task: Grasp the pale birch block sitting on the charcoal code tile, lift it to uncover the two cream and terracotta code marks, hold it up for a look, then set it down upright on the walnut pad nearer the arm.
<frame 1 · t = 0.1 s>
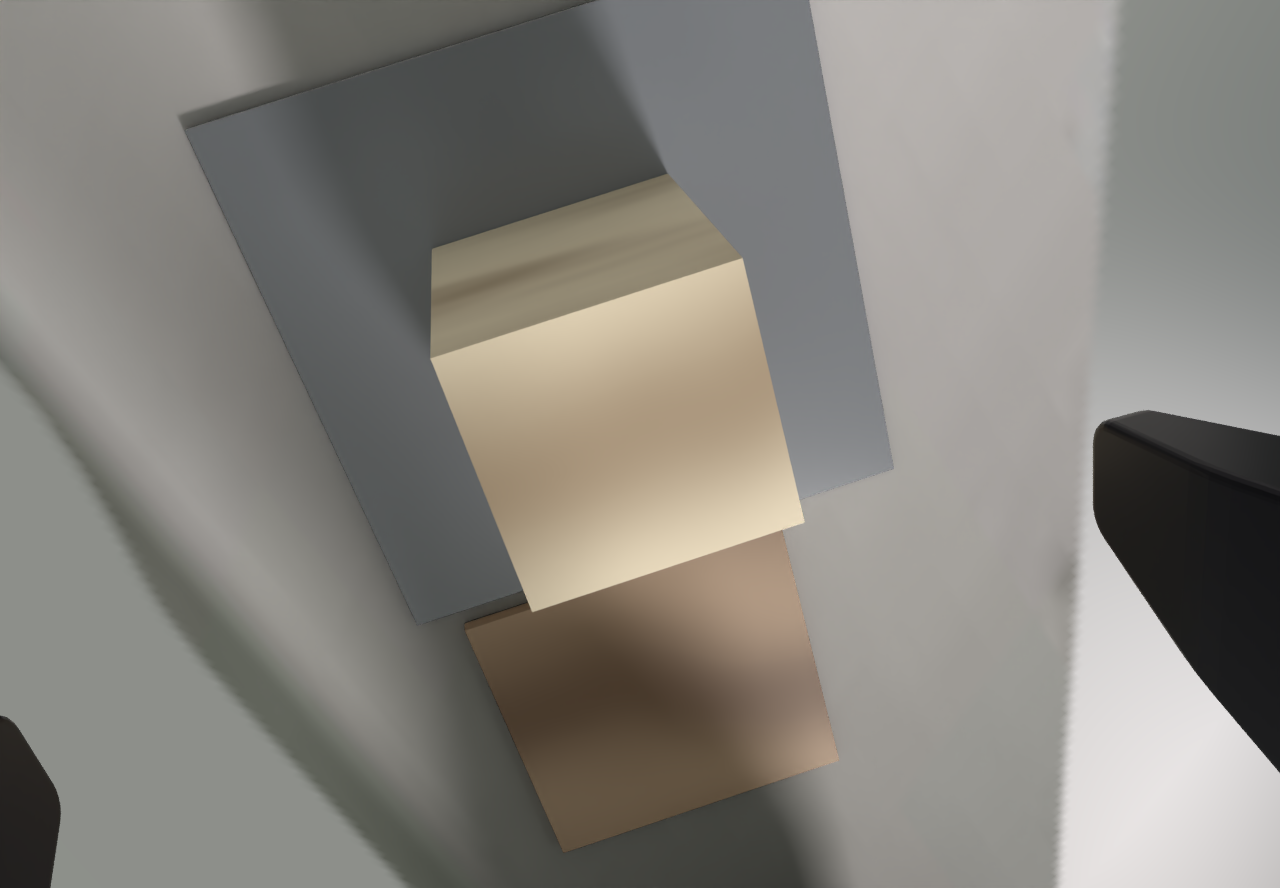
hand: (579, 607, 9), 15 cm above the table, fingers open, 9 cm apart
birch block: (585, 322, 23), resting on code tile
code tile: (584, 318, 23), on the table
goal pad: (663, 692, 28), on the table
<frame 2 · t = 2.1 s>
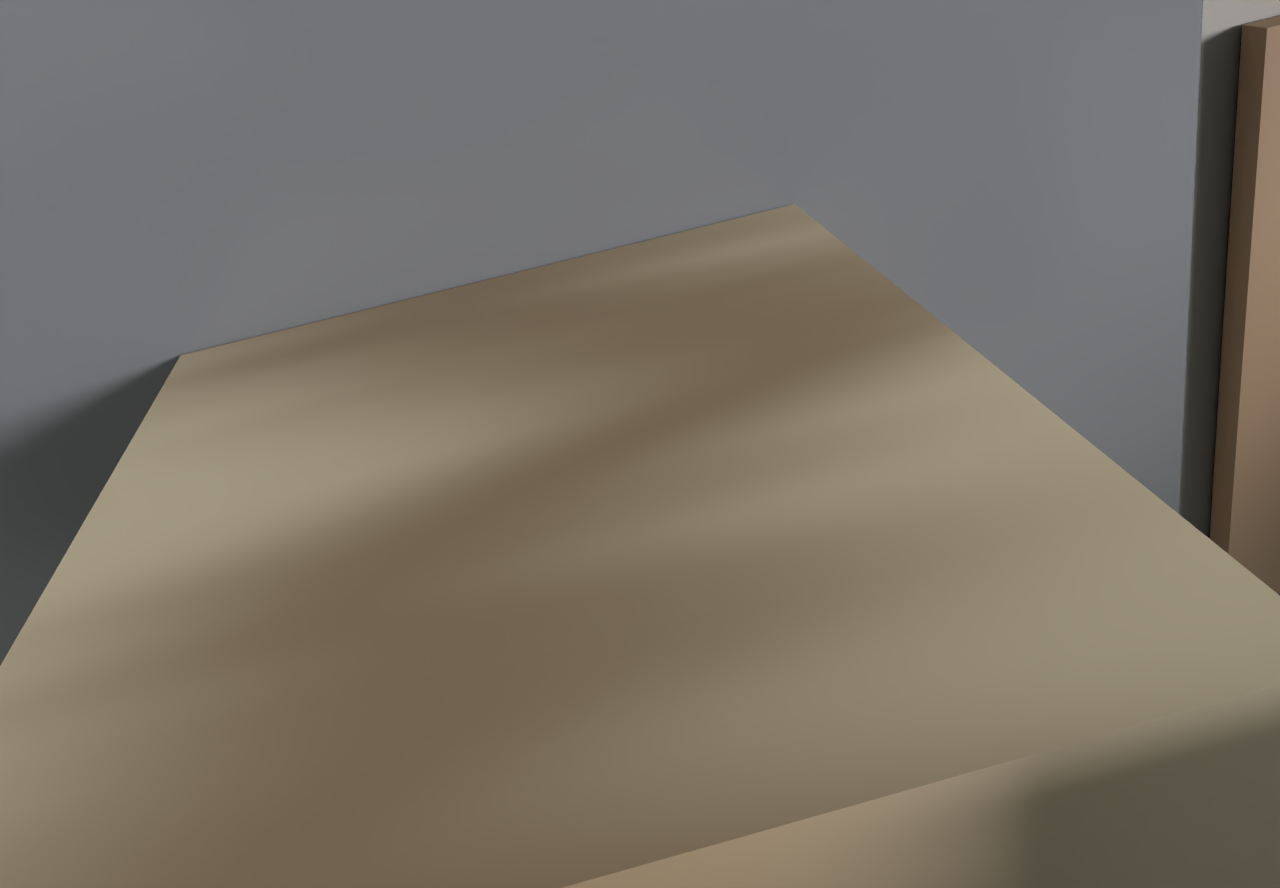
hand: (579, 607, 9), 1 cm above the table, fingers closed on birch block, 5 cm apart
birch block: (564, 537, 10), resting on code tile, touching gripper
code tile: (562, 525, 10), on the table
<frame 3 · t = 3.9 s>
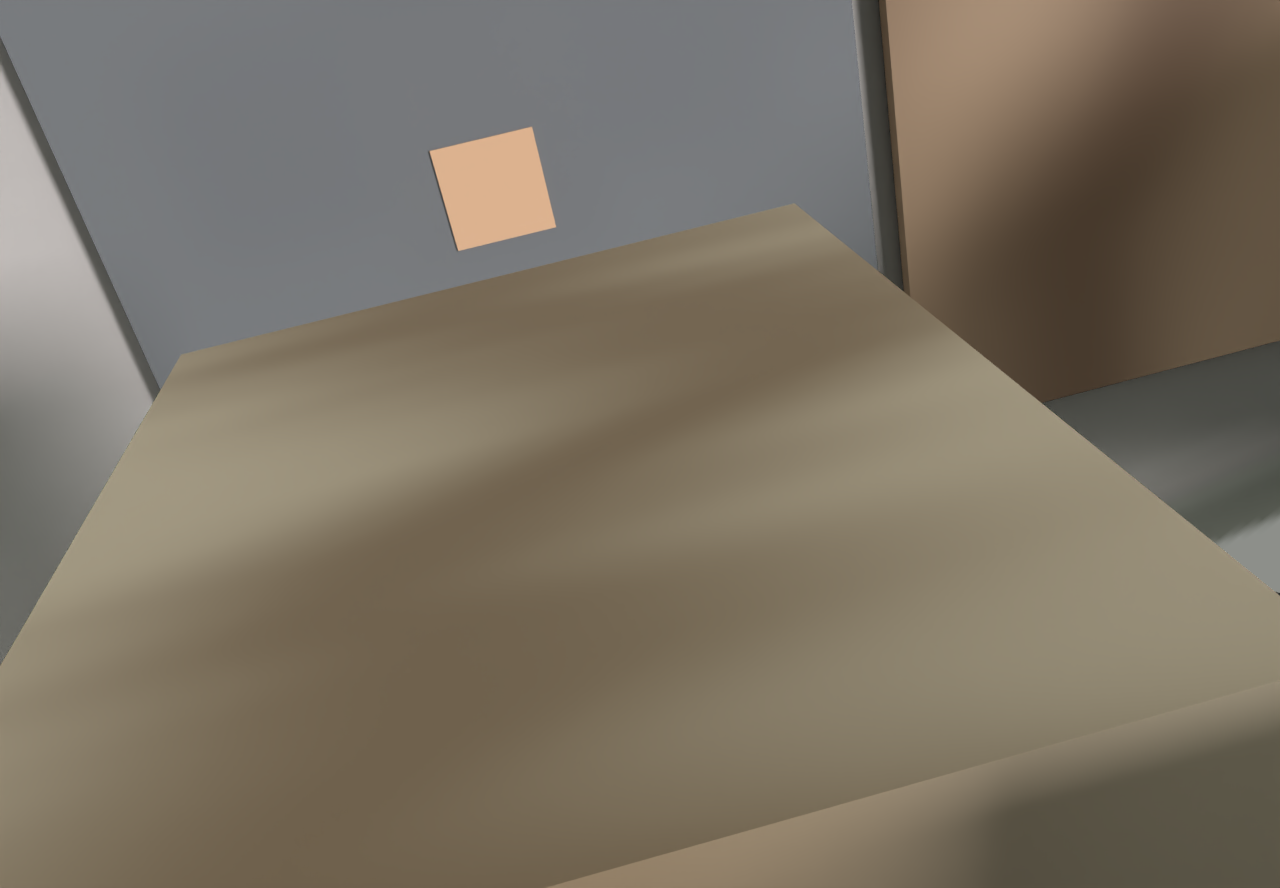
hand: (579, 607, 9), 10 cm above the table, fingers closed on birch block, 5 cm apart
birch block: (564, 536, 10), point 9 cm above the table, touching gripper
code tile: (512, 258, 17), on the table
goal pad: (1118, 168, 19), on the table
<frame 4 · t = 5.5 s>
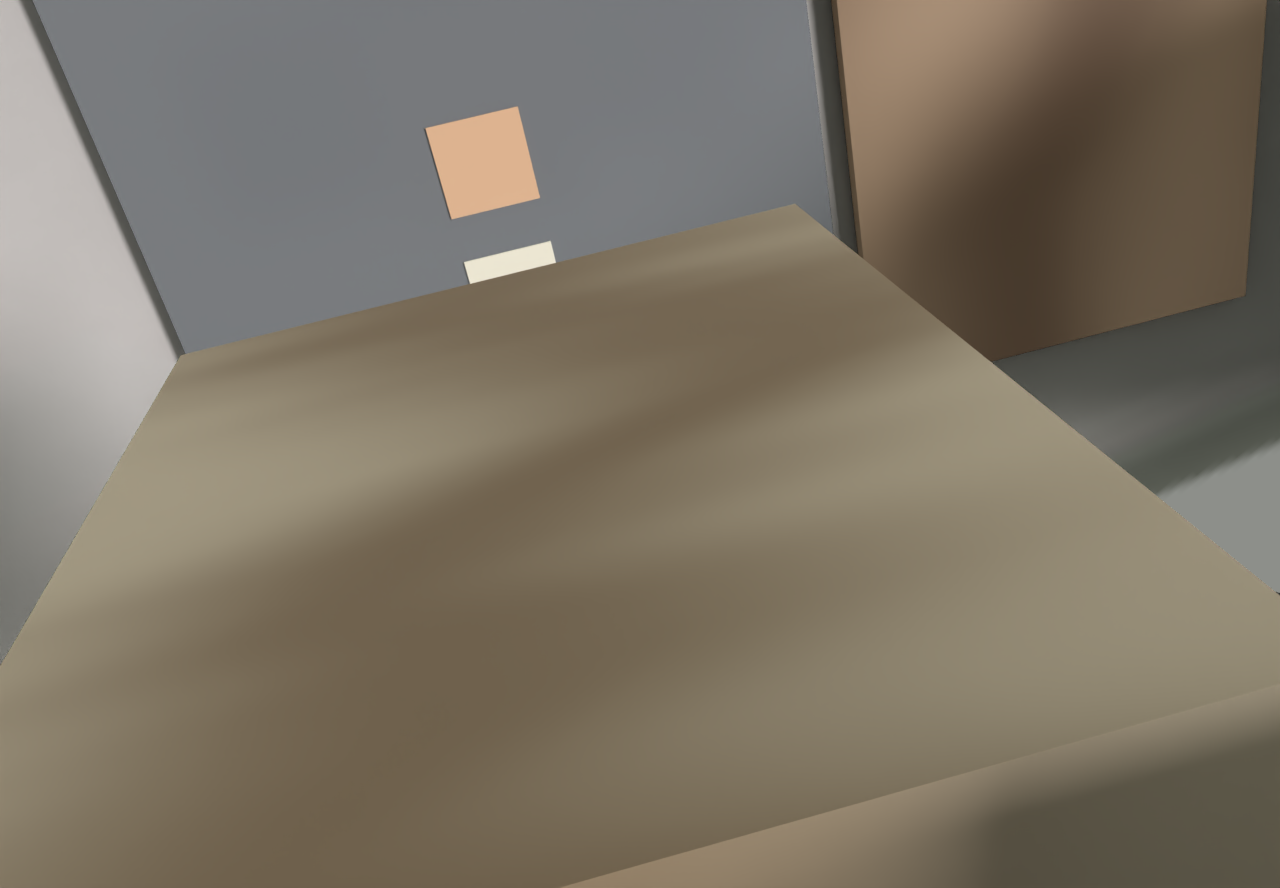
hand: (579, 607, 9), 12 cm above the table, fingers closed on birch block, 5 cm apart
birch block: (564, 537, 10), point 11 cm above the table, touching gripper
code tile: (501, 227, 19), on the table
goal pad: (1052, 146, 20), on the table
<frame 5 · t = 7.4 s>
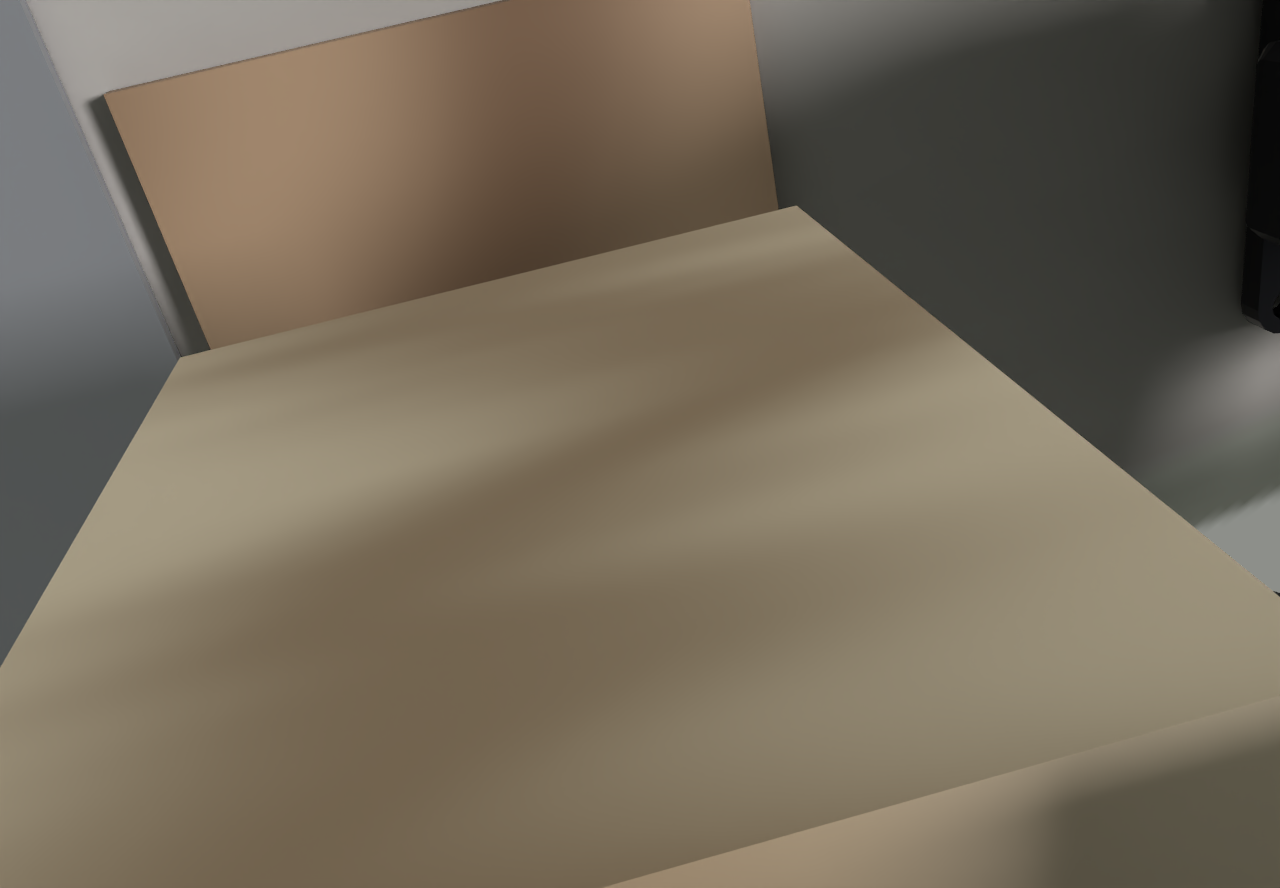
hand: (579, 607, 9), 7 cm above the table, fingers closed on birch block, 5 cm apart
birch block: (565, 540, 10), point 6 cm above the table, touching gripper
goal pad: (509, 312, 15), on the table
when the fingers open (2 cm above the table, at t = 9.1 s): birch block drops 1 cm, resting on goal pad.
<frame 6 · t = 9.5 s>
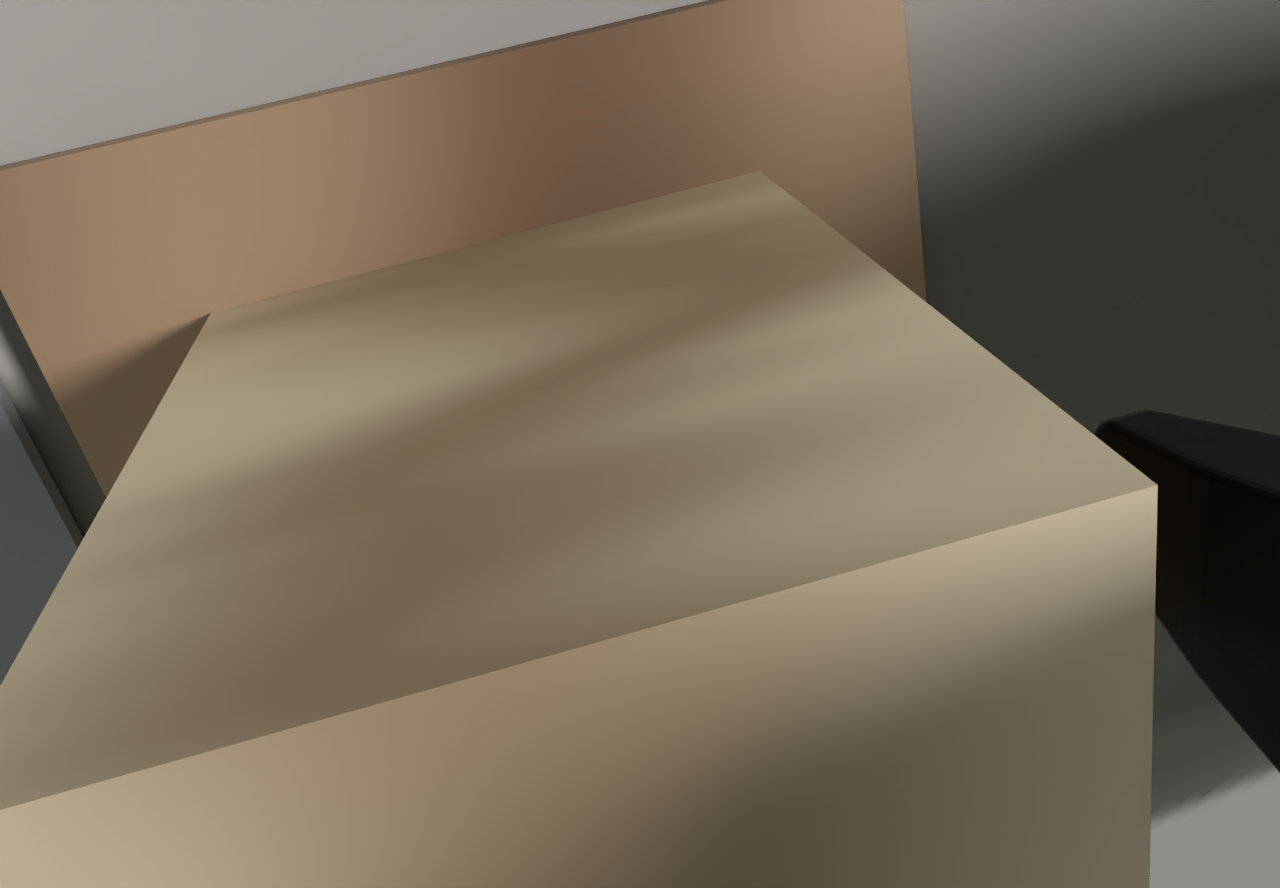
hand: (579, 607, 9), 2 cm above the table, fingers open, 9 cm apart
birch block: (557, 479, 11), resting on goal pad
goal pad: (547, 468, 11), on the table
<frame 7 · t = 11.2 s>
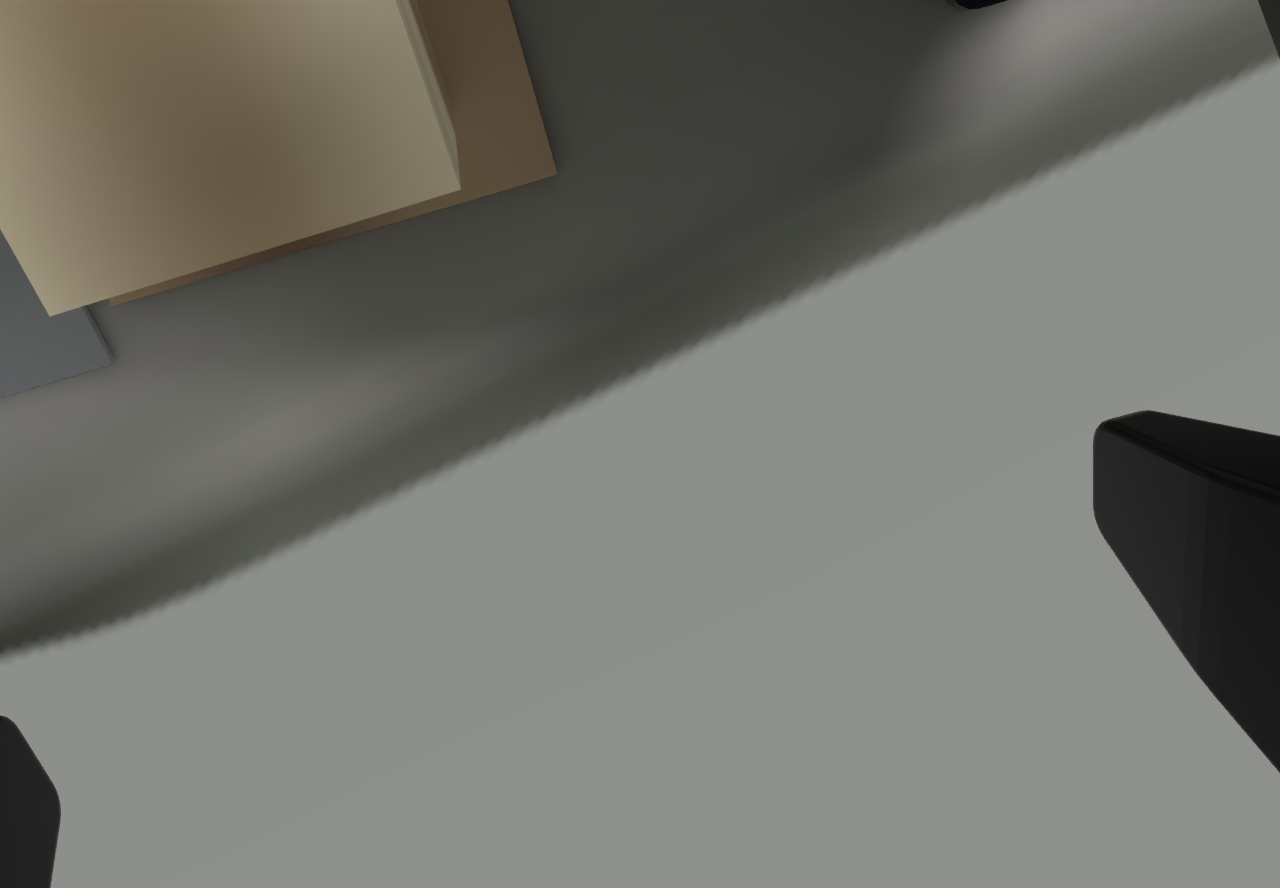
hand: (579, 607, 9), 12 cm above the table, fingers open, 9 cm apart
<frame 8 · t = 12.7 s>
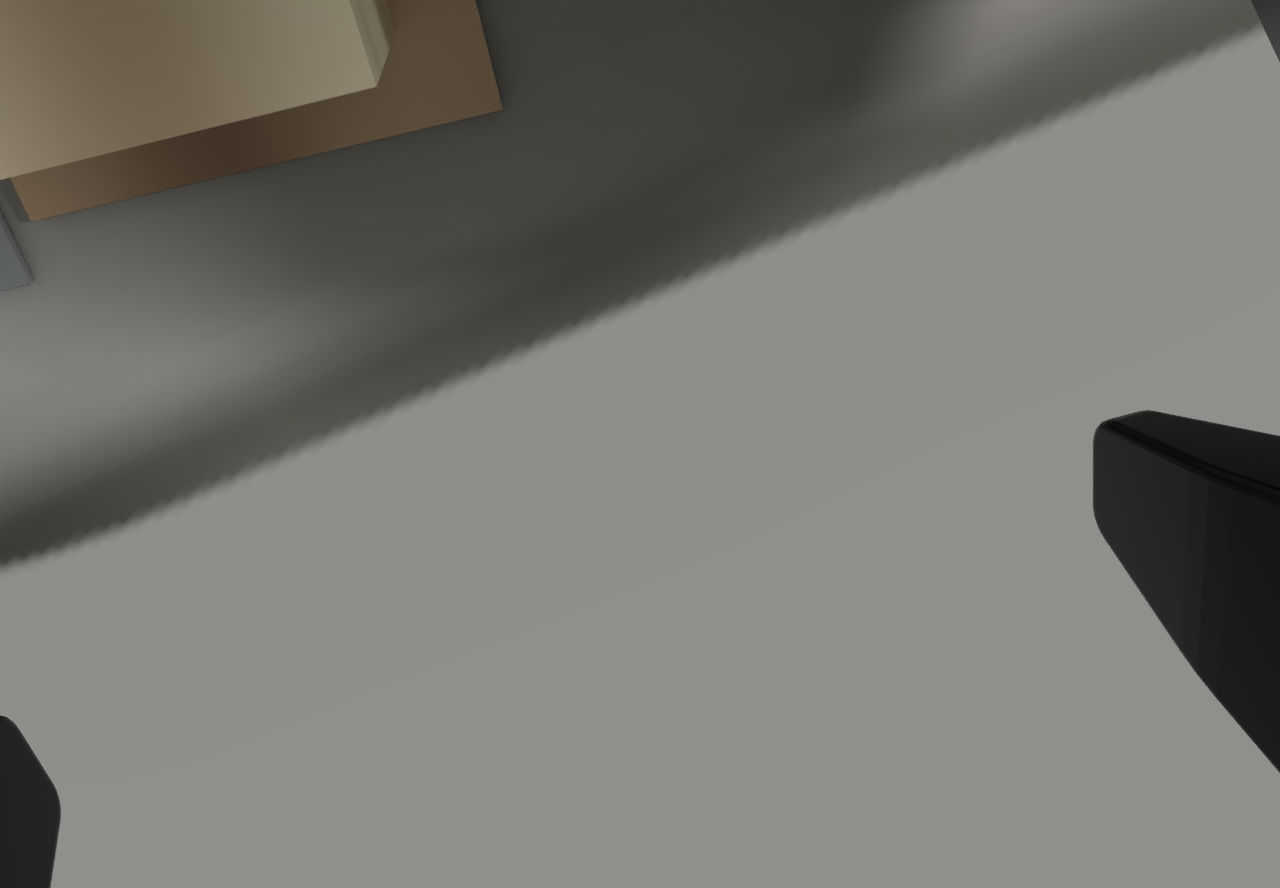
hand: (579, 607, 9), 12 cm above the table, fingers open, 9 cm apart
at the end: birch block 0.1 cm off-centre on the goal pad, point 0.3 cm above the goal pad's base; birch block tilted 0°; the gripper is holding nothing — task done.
